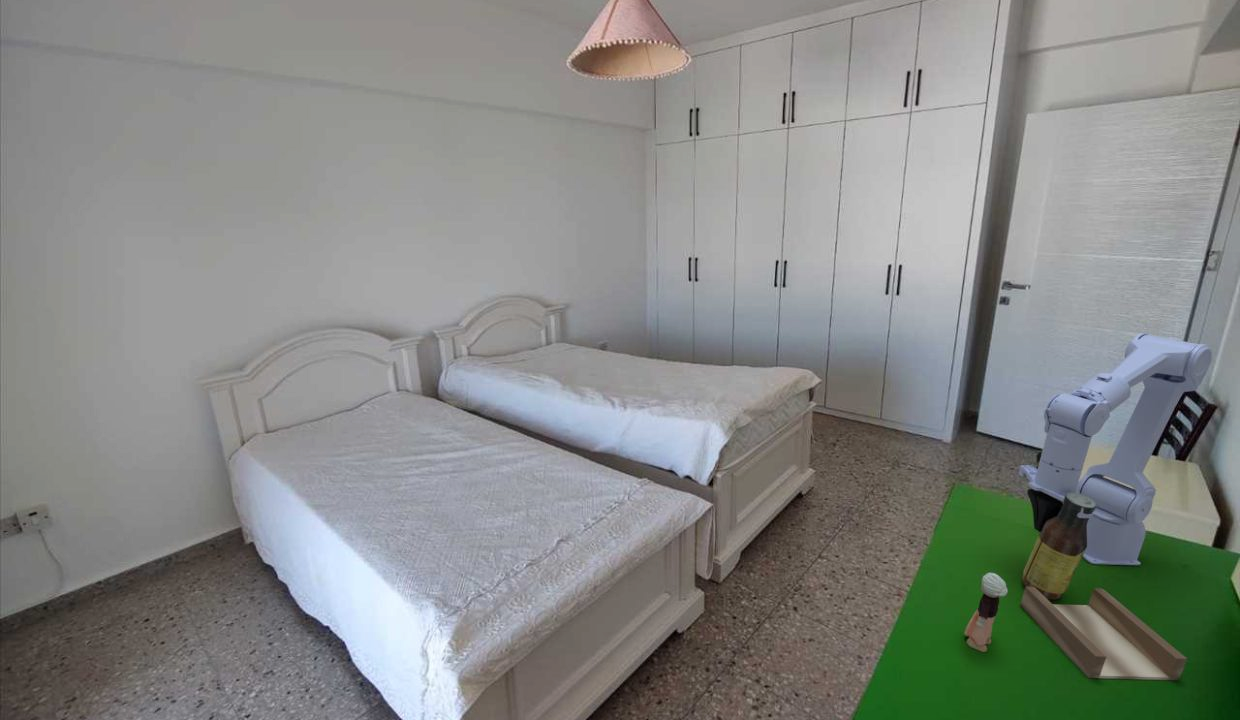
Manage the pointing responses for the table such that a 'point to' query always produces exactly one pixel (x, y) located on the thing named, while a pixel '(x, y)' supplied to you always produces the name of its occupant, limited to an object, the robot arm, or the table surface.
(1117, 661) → the u rest
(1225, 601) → the table surface
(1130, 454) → the robot arm
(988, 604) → the grandmother figurine
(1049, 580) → the sauce bottle
